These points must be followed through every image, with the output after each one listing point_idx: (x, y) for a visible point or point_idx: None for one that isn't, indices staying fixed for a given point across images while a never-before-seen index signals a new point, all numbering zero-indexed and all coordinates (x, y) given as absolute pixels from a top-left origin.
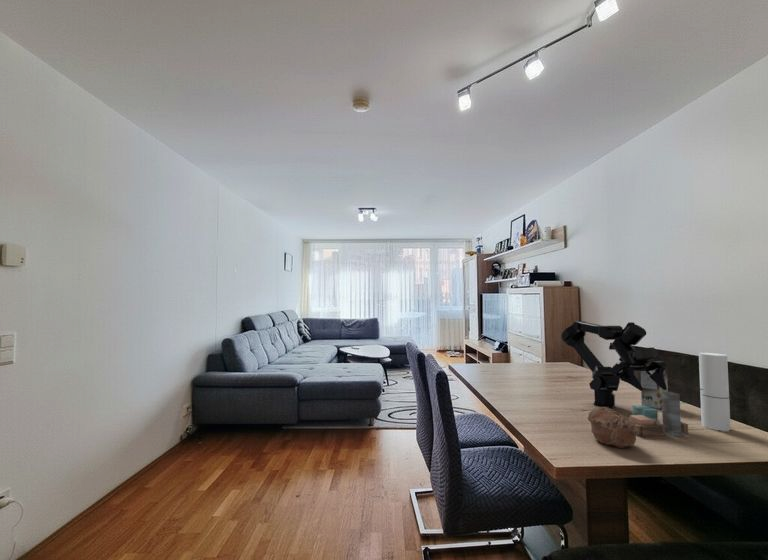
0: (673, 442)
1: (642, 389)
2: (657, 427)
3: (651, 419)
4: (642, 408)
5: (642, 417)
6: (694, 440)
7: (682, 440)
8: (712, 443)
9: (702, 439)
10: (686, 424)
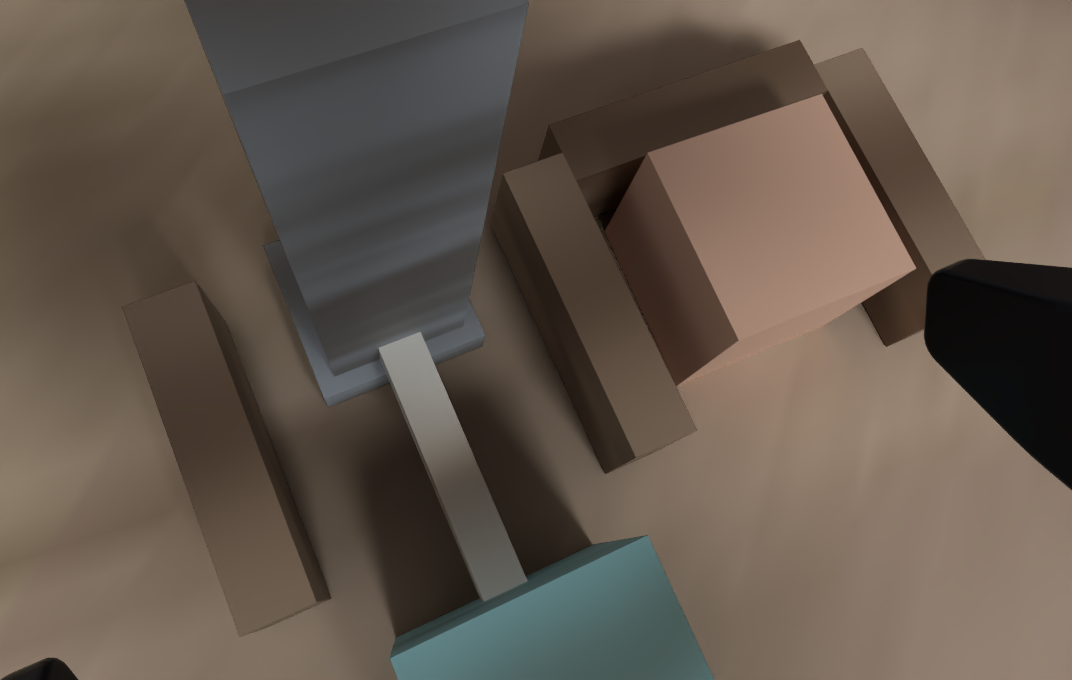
0: None
1: (943, 271)
2: (614, 110)
3: (668, 161)
4: (642, 664)
5: (764, 219)
6: None
7: None
8: (72, 80)
9: (107, 180)
10: (147, 298)
